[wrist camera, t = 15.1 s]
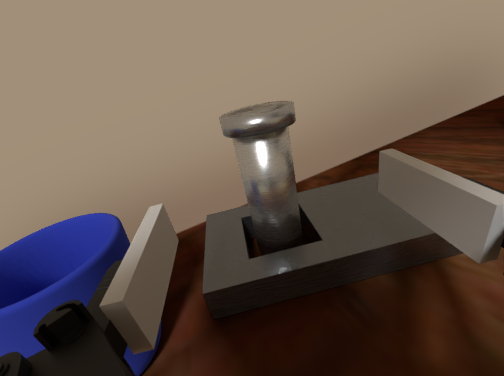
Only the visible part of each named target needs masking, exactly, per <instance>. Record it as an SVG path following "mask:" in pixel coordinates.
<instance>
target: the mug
mask: <svg viewBox="0 0 504 376" xmlns="http://www.w3.org/2000/svg"><path fill="white" fill-rule="evenodd" d="M130 245H131V244H130V242H129V240H128V238H127V235H126V233H125V230H124V228H123V226H122V223H121V221H120V220H119V219H118V218H117V217H116V216H114V215H111V214H107V213H94V214H88V215H82V216H78V217H74V218H71V219H67V220H65V221H62V222H58V223H56V224H53V225H51V226H48V227H46V228H44V229H41V230H39V231H37V232H35V233H32V234H30V235H28V236H26V237H24V238H22V239H20V240H19V241H17V242H15V243H13V244H11V245H10V246H8V247H6V248H4V249H3V250H1V251H0V357H1V356H3V355H5V354H7V353H10V352H18V353H20V354H22V355H23V356H24V357H25V358H28V357H30V356H32V355H34V354H36V353H38V352H40V351H42V350H44V349H46V348H45V347H44V346H43V345H42V344H41V343H40V342H39V341H38V340H37V339H36V338H35V337H34V336H33V334H34V329H35V327H36V326H37V324H38V323H39V321H40V320H41V319H42V318H43V317H44V316H45V315H46V314H47V313H49V312H50V311H51V310H52V309H54V308H55V307H57V306H59V305H61V304H62V303H64V302H67V301H71V300H79V301H81V302H82V303H83V305H84V306H85V307H86V306H87V305H88V303H89V301H90V299H91V297H92V296H93V294H94V292H95V290H97V287H98V285H99V283H100V282H101V280H102V278H103V276H104V274H105V273H106V271H107V270H108V269H109V268H110V267H111V266H112V265H113V264H114V262H115V261H119V260H123V258H124V256H125V254H126V252H127V251H128V249H129V247H130ZM161 329H162V326H161V321H160V325H159V329H158V334H157V338H156V343H155V347H154V349H153V350H149V351H145V352H142V353H138V354H133V352H132V351H131V350H130V348H129V347H128V346H127V348H126V351H125V354H124V358H125V359H126V361H127V362H128V364H129V365H130V367H131V369H132V371H133V372H134V374H135V376H140V375H141V374H142V373H143V371H144V370H145V369H146V367H147V366H148V365H149V363H150V362H151V360H152V358H153V356H154V354H155V352H156V350H157V347H158V345H159V342H160V337H161Z"/></svg>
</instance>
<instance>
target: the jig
mask: <svg viewBox="0 0 504 376" xmlns="http://www.w3.org/2000/svg"><path fill="white" fill-rule="evenodd" d="M378 176H379V173H375V174H371V175H367V176H363V177H359V178H355V179H351V180H347V181H343V182H339V183H335V184H331V185H327V186H323V187H319V188H315V189H311V190H307V191H303V192H299V193H297V197H298V204H299V212H300V220H301V226H302V227H303V229H304V231H305V232H306V234H307V236H308V238H309V239H310V241H311V243H310V244H306V245H302V246H298V247H294V248H291V249H287V250H283V251H279V252H275V253H271V254H267V255H263V256H260V257H256V258H252V259H250V253H249V248H248V243H247V240H249V239H252V238H256V235H255V231H254V226H253V222H252V218H251V214H250V210H249V206H248V205H247V206H243V207H239V208H235V209H230V210H227V211H223V212H218V213H215V214H211V215H207V221H206V239H205V257H204V275H203V293H202V294H203V296H204V299H205V301H206V303H207V306H208V308H209V311H210V313H211V315H212V318H213V320H214V319H218V318H222V317H226V316H229V315H233V314H237V313H240V312H244V311H248V310H252V309H255V308H259V307H263V306H267V305H270V304H274V303H278V302H282V301H285V300H289V299H293V298H297V297H300V296H304V295H308V294H312V293H315V292H319V291H323V290H327V289H330V288H334V287H338V286H342V285H345V284H349V283H353V282H357V281H360V280H364V279H368V278H372V277H375V276H379V275H383V274H387V273H390V272H394V271H398V270H402V269H405V268H409V267H413V266H417V265H420V264H424V263H428V262H431V261H435V260H439V259H443V258H446V257H450V256H454V255H458V254H461V253H463V252H462V251H460V250H459V249H458V248H456V247H455V246H453V245H452V244H451V243H449V242H448V241H446V240H445V239H444V238H442V237H441V236H439V235H438V234H437V233H435V232H434V231H432V230H431V229H430V228H428V227H427V226H425V225H424V224H423V223H421V222H420V221H418V220H417V219H416V218H414V217H413V216H411V215H410V214H409V213H407V212H406V211H404V210H403V209H402V208H400V207H399V206H397V205H396V204H395V203H393V202H392V201H390V200H389V199H388V198H386V197H385V196H383V195H382V194H381V193H379V192H378Z"/></svg>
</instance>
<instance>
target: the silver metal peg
mask: <svg viewBox="0 0 504 376" xmlns="http://www.w3.org/2000/svg"><path fill="white" fill-rule="evenodd" d="M219 120H220V124H221V128H222V131H223V135H224V136H226V137H230V138H232V139H233V143H234V147H235V152H236V156H237V160H238V164H239V168H240V172H241V176H242V181H243V185H244V189H245V193H246V197H247V201H248V206H249V210H250V214H251V218H252V222H253V226H254V231H255V235H256V239H257V243H258V247H259V251H260V255H261V256H263V255H267V254H271V253H275V252H279V251H283V250H287V249H291V248H294V247H298V246H302V245H304V243H303V235H302V227H301V220H300V212H299V204H298V197H297V189H296V182H295V174H294V166H293V159H292V151H291V143H290V136H289V128H288V126H290V125H292V124H293V123H294V122H295V121H296V118H295V110H294V103H293V102H292V101H276V102H268V103H263V104H257V105H253V106H248V107H244V108H240V109H237V110H234V111H231V112H228V113H226V114H224V115H222V116H221V117H220V118H219Z"/></svg>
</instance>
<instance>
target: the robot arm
mask: <svg viewBox="0 0 504 376" xmlns="http://www.w3.org/2000/svg"><path fill="white" fill-rule="evenodd" d="M378 192H379V193H381V194H382V195H383V196H385V197H386V198H388V199H389V200H390V201H392V202H393V203H395V204H396V205H397V206H399V207H400V208H402V209H403V210H404V211H406V212H407V213H409V214H410V215H411V216H413V217H414V218H416V219H417V220H418V221H420V222H421V223H423V224H424V225H425V226H427V227H428V228H430V229H431V230H432V231H434V232H435V233H437V234H438V235H439V236H441V237H442V238H444V239H445V240H446V241H448V242H449V243H451V244H452V245H453V246H455V247H456V248H458V249H459V250H460V251H462V252H463V253H465V254H466V255H467V256H469V257H470V258H472V259H473V260H474V261H476V262H477V263H479V264H481V263H485V262H488V261H492V260H496V259H497V258H498V255H499V253H500V250H501V247H503V248H504V192H503V191H500V190H498V189H493V187H490V186H488V185H484V184H483V183H480V182H478V181H475V180H473V179H469V178H465V177H460V176H458V175H455V174H453V173H450V172H448V171H445V170H443V169H441V168H438V167H436V166H433V165H431V164H428V163H426V162H424V161H421V160H419V159H416V158H414V157H412V156H409V155H407V154H404V153H402V152H399V151H397V150H395V149H392V148H391V149H387V150H383V151H380V152H379V176H378ZM178 242H179V240H178V238H177V235H176V233H175V231H174V229H173V226H172V224H171V221H170V219H169V217H168V214H167V212H166V210H165V207H164V205H163V204H159V205H154V206H150V207H149V210H148V211H147V213H146V215H145V217H144V219H143V221H142V223H141V225H140V227H139V229H138V231H137V233H136V235H135V237H134V239H133V241H132V243H131V245H130V247H129V249H128V251H127V252H126V254H125V256H124V258H123V260H119V261H115V262H114V264H113V265H112V266H111V267H110V268H109V269H108V270H107V271H106V273H105V274H104V276H103V278H102V280H101V282H100V283H99V285H98V287H97V290H95V292H94V294H93V296H92V297H91V299H90V301H89V303H88V305H87V306H86V307H85V306H84V305H83V303H82V302H81V301H79V300H71V301H67V302H64V303H62V304H61V305H59V306H57V307H55V308H54V309H52V310H51V311H50V312H49V313H47V314H46V315H45V316H44V317H43V318H42V319H41V320H40V321H39V323H38V324H37V326H36V327H35V329H34V334H33V336H34V337H35V338H36V339H37V340H38V341H39V342H40V343H41V344H42V345H43V346H44V347H45V348H46V349H44V350H42V351H40V352H38V353H36V354H34V355H32V356H30V357H28V358H25V357H24V356H23V355H22V354H20V353H18V352H10V353H7V354H5V355H3V356H1V357H0V376H135V374H134V372H133V371H132V369H131V367H130V365H129V364H128V362H127V361H126V359H125V358H124V354H125V351H126V348H127V346H128V347H129V348H130V350H131V351H132V352H133V354H138V353H142V352H145V351H149V350H153V349H154V347H155V343H156V338H157V334H158V329H159V325H160V321H161V316H162V312H163V308H164V303H165V299H166V294H167V290H168V286H169V281H170V277H171V272H172V268H173V264H174V259H175V255H176V250H177V246H178ZM503 275H504V274H503Z"/></svg>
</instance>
